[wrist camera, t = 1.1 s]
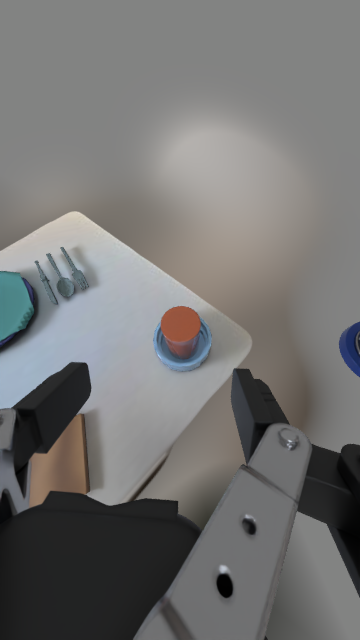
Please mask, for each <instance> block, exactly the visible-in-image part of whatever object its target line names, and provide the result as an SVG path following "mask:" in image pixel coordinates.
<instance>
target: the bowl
mask: <svg viewBox="0 0 360 640" xmlns="http://www.w3.org/2000/svg"><path fill="white" fill-rule="evenodd" d="M199 318H200V317H199ZM200 321H201V327H200V339H199V348H198V351H197V353H196V354H195V355H194V356H193V357H191V358H189V359H185V360H181V359H177V358H175V357H173V356H172V355H171V354H170V352H169V350H168V348H167V345H166V342H165V339H164V336H163V333H162V330H161V322H160V323H159V325H158V326H157V328H156V330H155V333H154V339H153V342H154V346H155V350H156V352H157V354H158V356H159V357H160V359H161V360H162V362H163V363H164V364H165V365H167V366H168V367H169V368H171V369H174V370H178V371H190V370H192V369H195V368H197V367H199V366H200V365H201V364H202V363H203V362H204V361H205V360H206V358H207V356H208V354H209V351H210V348H211V337H212V335H211V332H210V329H209V326H208V325H207V324H206V323H205V322H204V320H203V319H202V318H200Z"/></svg>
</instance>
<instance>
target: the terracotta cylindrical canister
mask: <svg viewBox="0 0 360 640" xmlns="http://www.w3.org/2000/svg"><path fill="white" fill-rule="evenodd" d="M200 327H201V321H200V318H199V316H198V314H197V313H196V312H195V311H194V310H193V309H191V308H189V307H185V306H178V307H174V308H171V309H170V310H168V311H167V312H166V313H165V314H164V315H163V317H162V319H161V330H162V333H163V336H164V339H165V342H166V345H167V348H168V350H169V352H170V354H171V355H172V356H173V357H175V358H177V359H181V360H185V359H189V358H191V357H193V356H194V355H195V354H196V353H197V351H198V348H199V339H200Z"/></svg>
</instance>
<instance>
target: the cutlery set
mask: <svg viewBox="0 0 360 640" xmlns="http://www.w3.org/2000/svg"><path fill="white" fill-rule="evenodd" d="M61 250H62V252H63V253H64V255H65V257H66V259H67V260H68V262H69V264H70V266H71V267H72V269H73V270H72V271H73V272H74V273H73V274H72V275H73V277H74V278H75V280H76V281H77V282H78V284H79V285H80V287H81V288H82V290H83V287H82V285H83V286H84V287H85V288H86V286H85V284H86V285H87V287H89V286H88V284H87V282H86V280H85V278H84V275H83V273H82V272H81V271H80V270H77V269H76V268H75V266H74V264H73V263H72V261H71V259H70V258H69V256H68V254H67V253H66V251H65V249H64V248H63V247H61ZM46 255H47V257H48V259H49V261H50V262H51V264H52V266H53V267H54V269H55V271H56V272H57V274H58V276H59V277H60V279H59V281H58V283H57V288H58V291H59V292H60V293H61V295H63V296H67V297H69V296H70V295H72V294H73V291H74V286H73V283H72V282H71V281H70V280H69V279H68V278H64V277H63V278H62V276H61V275H60V273H59V271H58V269H57V267H56V265H55V263H54V261H53V259H52V257H51V254H50V253H49V254H46ZM35 263H36V265H37V267H38V269H39V272H40V278H41V279H42V280H41V281H42V282H43V283H44V285H45V289H46V291H47V293H48V296H49V298H50V300H51V301H52V302H53V303H55V304H58V303H57V301H56V299H55V297H54V295H53V293H52V291H51V288H50V286H49V284H48V281H49V280H48V279H47V278H46V276H45V275H44V274H43V272H42V270H41V268H40V266H39V264H38V263H39V262H38V261H35ZM79 280H80V281H79ZM83 281H84V282H85V284H84V282H83ZM80 282H81V283H82V285H81V283H80ZM33 303H34V294H33V288H32V287H31V286H30V284H29V283H28V282H27V280H26V279H24V278H22V277H21V276H20V273H16V272H7V271H0V347H1V346H2V345H4V344H5V343H6V342H8V341H9V340H11V338H12V337H13V336H14V335H15V334H16V333H17V332H18V331H19V330H22V329H24V328H26V325H27V324H28V322H29V320H30V319H31V316H32V315H33V314H34V308H33Z"/></svg>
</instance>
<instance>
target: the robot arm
mask: <svg viewBox="0 0 360 640" xmlns="http://www.w3.org/2000/svg"><path fill="white" fill-rule="evenodd" d="M354 347H355V350H356V352H357V354H358V356H359V358H360V330H359V331H358V332H357V333H356V335H355V338H354ZM90 393H91V382H90V376H89V370H88V365H87V364H86V363H81V362H71V363H69V364H68V365H67V366H66V367H64V368H63V369H62V370H61V371H59V372H57V373H55V374H53V375H51V376H50V377H48V378H47V379H46V380H45V381H43V382H42V384H40V385H39V386H37V387H36V389H34V390H33V391H31V392H30V393H29V394H28V395H27V396H25V397H24V398H23V399H22V400H20V401H19V402H18V403H17V404H16V405H14V406H13V407H12V408H4V409H0V640H268V639H267V637H266V636H265V633H266V629H267V625H268V621H269V617H270V614H271V610H272V606H273V602H274V598H275V594H276V590H277V586H278V582H279V578H280V575H281V570H282V566H283V563H284V559H285V555H286V551H287V547H288V543H289V539H290V535H291V532H292V528H293V524H294V520H295V516H296V512H297V511H298V512H301V513H303V514H305V515H308V516H310V517H312V518H314V519H317V520H319V521H321V522H324V523H326V524H327V526H328V528H329V530H330V532H331V534H332V537H333V539H334V541H335V543H336V545H337V548H338V550H339V552H340V555H341V557H342V559H343V561H344V563H345V566H346V568H347V570H348V572H349V574H350V577H351V579H352V581H353V584H354V586H355V588H356V590H357V592H358V594H359V597H360V445H356V444H347V445H345V446H344V447H343V448H342V449H341V453H337V452H334V451H331V450H328V449H325V448H321V447H318V446H315V445H313V444H311V443H310V441H309V439H308V438H307V436H306V435H305V434H304V433H302V432H301V431H300V430H298V429H297V428H295V427H293V426H291V425H290V424H289V422H288V420H287V419H286V417H285V415H284V413H283V412H282V410H281V408H280V407H279V405H278V403H277V401H276V399H275V398H274V396H273V395H272V392H271V390H270V389H269V387H268V386H267V385H266V384H265V383H264V382H263V381H262V380H260V379H254V378H253V377H252V374H251V372H250V370H249V369H235V368H234V370H233V378H232V390H231V403H232V408H233V412H234V416H235V420H236V424H237V428H238V432H239V436H240V440H241V444H242V448H243V451H244V456H245V460H246V464H247V466H245V465H244V464H243V465H241V467H240V468H239V469H238V471H237V473H236V474H235V476H234V478H233V480H232V482H231V483H230V485H229V487H228V488H227V490H226V492H225V493H224V495H223V497H222V499H221V500H220V502H219V504H218V505H217V507H216V509H215V511H214V513H213V514H212V516H211V518H210V519H209V521H208V523H207V524H206V526H205V528H204V530H203V531H202V530H201V529H200V528H199V527H198V526H197V525H196V524H195V523H193V522H192V521H191V520H189V519H187V518H186V517H184V516H182V515H180V514H178V501H170V500H160V499H147V498H145V499H140V500H136V501H131V502H127V503H122V504H118V505H113V506H108V505H105V504H103V503H101V502H99V501H97V500H94V499H92V498H90V497H88V496H86V495H84V494H82V493H74V492H62V491H50V492H49V493H48V495H47V497H46V498H45V500H44V501H43V503H42V504H40V505H37V506H34V507H31V508H29V500H30V483H31V466H32V463H31V459H30V458H31V457H32V456H33V454H34V453H39V454H47V453H48V452H49V450H50V449H51V448H52V446H53V445H54V444H55V442H56V441H57V440H58V438H59V437H60V436H61V434H62V433H63V432H64V430H65V429H66V428H67V426H68V425H69V424H70V422H71V421H72V420H73V418H74V417H75V416H76V414H77V413H78V412H79V410H80V409H81V408H82V406H83V405H84V404H85V402H86V401H87V400H88V398H89V396H90Z"/></svg>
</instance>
